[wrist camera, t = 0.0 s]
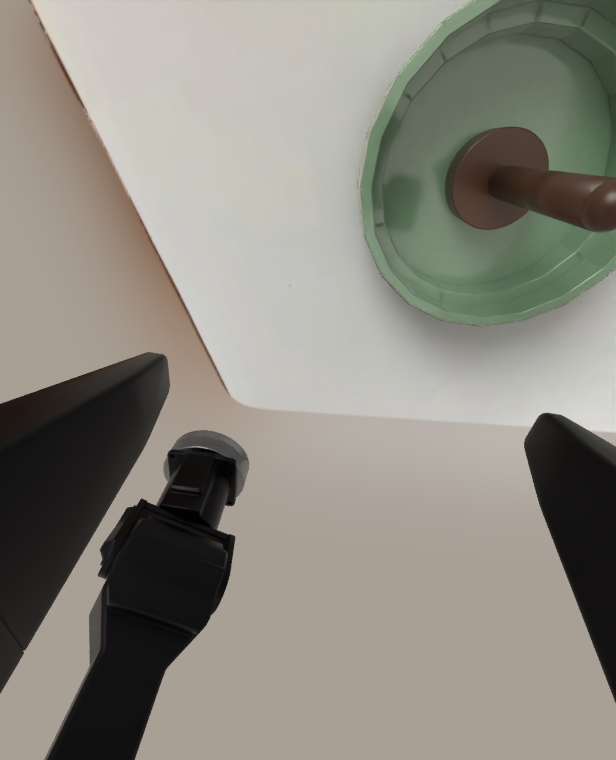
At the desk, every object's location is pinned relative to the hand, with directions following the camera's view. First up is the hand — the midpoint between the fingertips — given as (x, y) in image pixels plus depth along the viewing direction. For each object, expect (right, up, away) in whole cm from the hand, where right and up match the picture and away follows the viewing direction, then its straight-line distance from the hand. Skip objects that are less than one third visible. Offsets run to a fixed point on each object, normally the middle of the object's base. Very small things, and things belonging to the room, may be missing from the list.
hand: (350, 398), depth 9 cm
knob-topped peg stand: (+10, +12, +13) cm, 20 cm away
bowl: (+10, +13, +13) cm, 21 cm away
